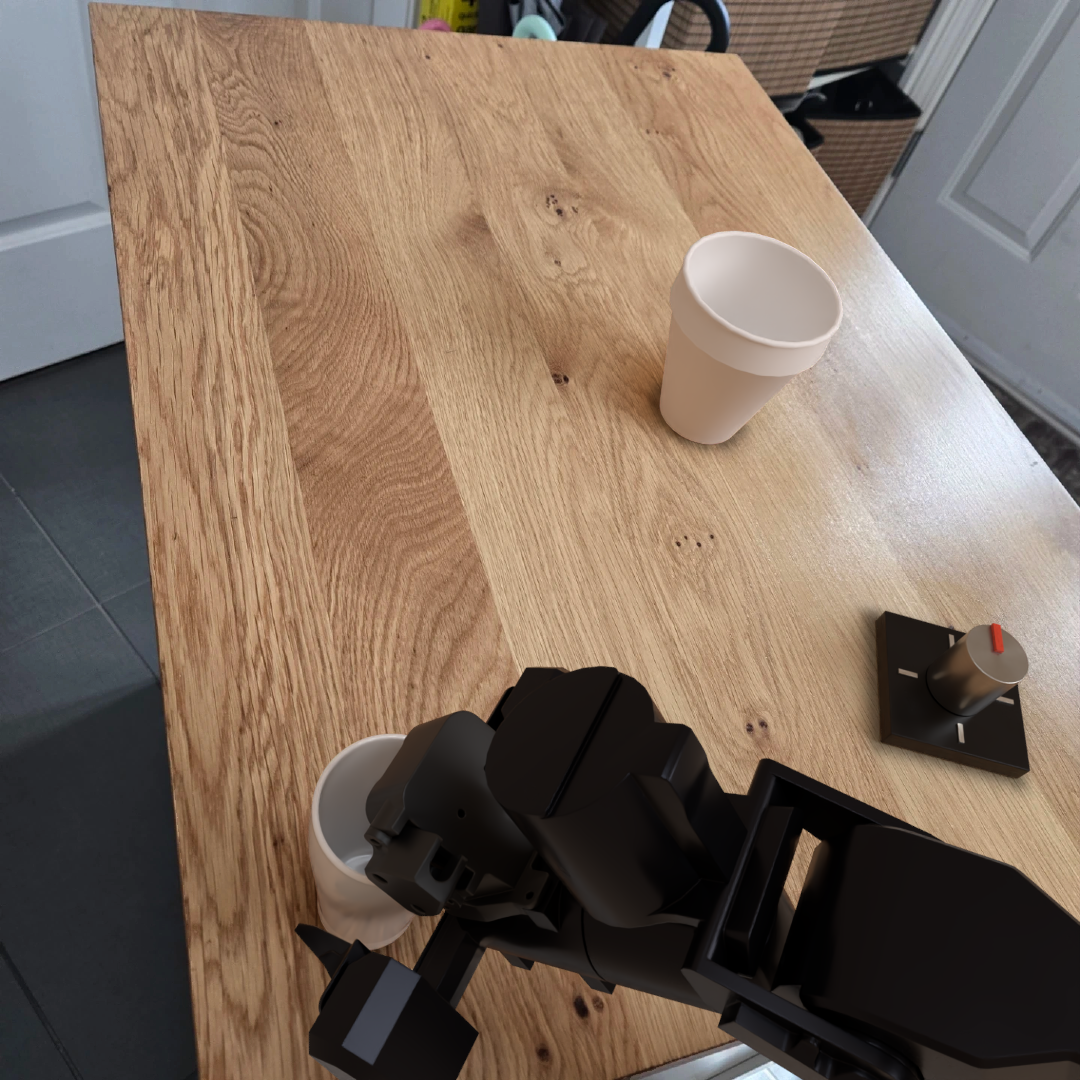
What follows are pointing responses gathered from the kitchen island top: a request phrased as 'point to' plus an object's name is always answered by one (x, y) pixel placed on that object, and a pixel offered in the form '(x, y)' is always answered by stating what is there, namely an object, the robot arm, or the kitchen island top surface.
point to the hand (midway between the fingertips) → (357, 844)
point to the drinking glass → (352, 846)
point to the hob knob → (977, 670)
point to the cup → (741, 330)
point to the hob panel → (923, 720)
